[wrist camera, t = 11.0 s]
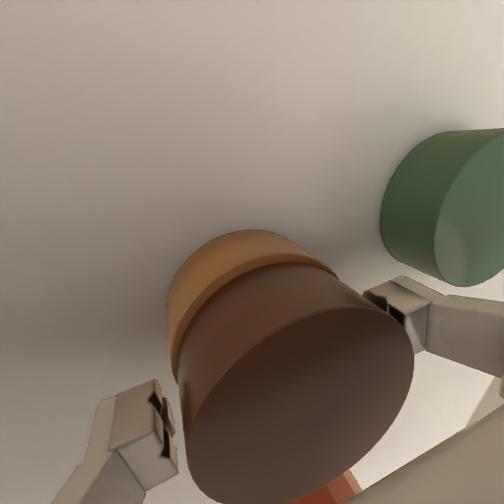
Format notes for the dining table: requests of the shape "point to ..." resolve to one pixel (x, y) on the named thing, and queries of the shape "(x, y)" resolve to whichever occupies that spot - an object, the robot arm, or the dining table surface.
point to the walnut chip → (287, 383)
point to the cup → (332, 491)
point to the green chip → (449, 207)
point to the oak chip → (223, 274)
